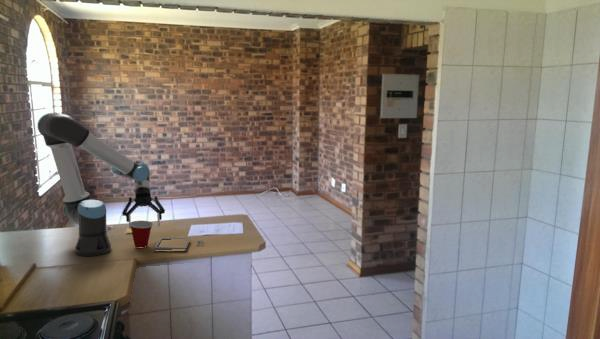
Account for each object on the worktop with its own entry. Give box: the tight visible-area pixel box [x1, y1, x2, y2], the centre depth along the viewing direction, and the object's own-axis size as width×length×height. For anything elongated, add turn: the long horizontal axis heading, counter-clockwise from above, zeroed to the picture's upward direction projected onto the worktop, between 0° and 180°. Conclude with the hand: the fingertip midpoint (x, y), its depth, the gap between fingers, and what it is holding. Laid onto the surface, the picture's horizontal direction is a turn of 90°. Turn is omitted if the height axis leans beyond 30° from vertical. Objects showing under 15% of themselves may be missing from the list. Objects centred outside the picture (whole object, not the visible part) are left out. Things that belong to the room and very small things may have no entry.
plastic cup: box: [130, 220, 154, 247], centre depth 206 cm, size 11×11×12 cm
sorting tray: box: [153, 237, 190, 251], centre depth 208 cm, size 15×15×2 cm
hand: (144, 226), depth 210 cm, fingers open, 13 cm apart
